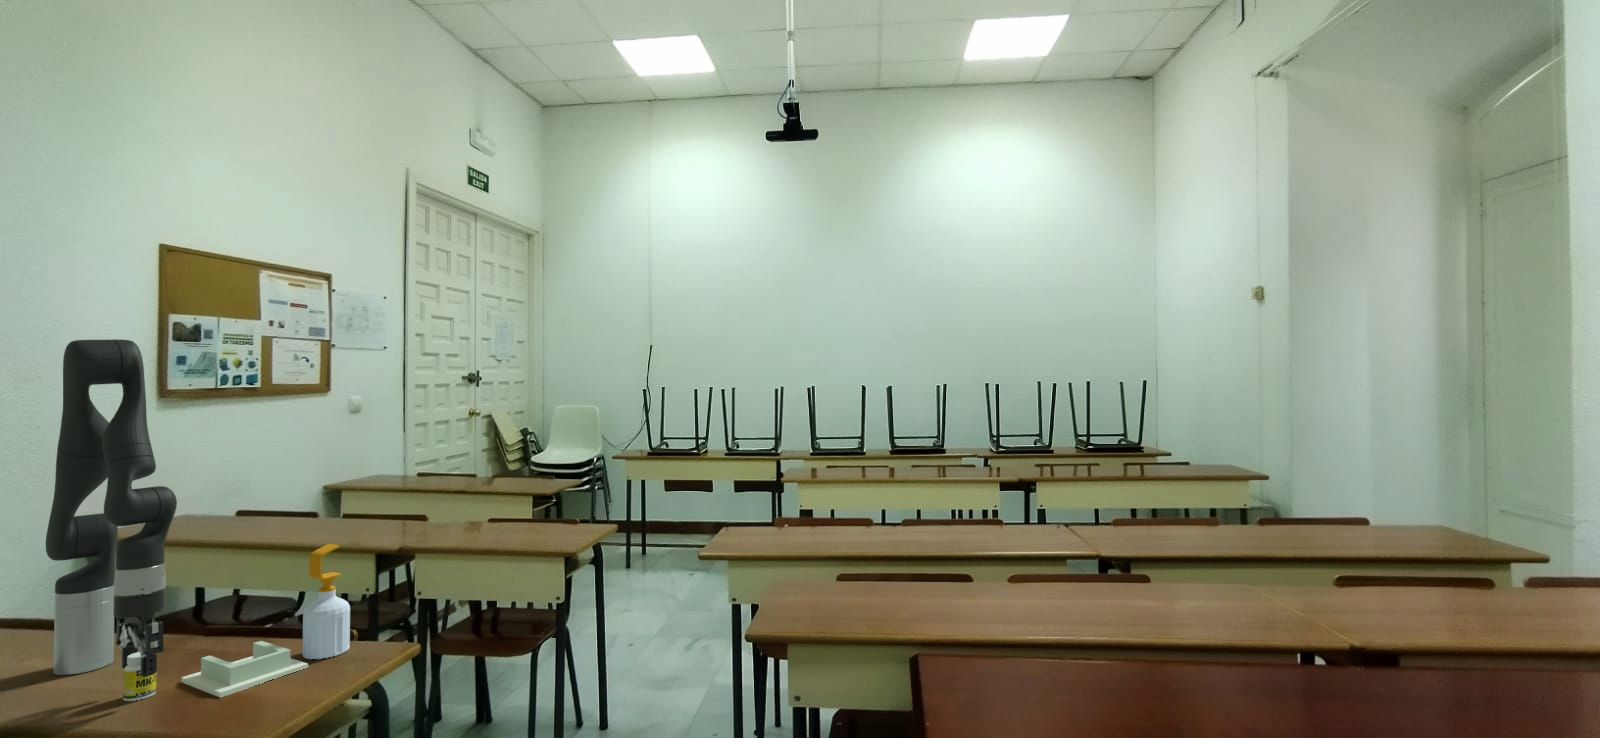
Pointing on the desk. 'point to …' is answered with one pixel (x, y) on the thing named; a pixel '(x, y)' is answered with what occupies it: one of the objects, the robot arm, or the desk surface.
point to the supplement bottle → (137, 680)
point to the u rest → (243, 670)
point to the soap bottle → (325, 614)
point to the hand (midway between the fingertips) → (139, 671)
